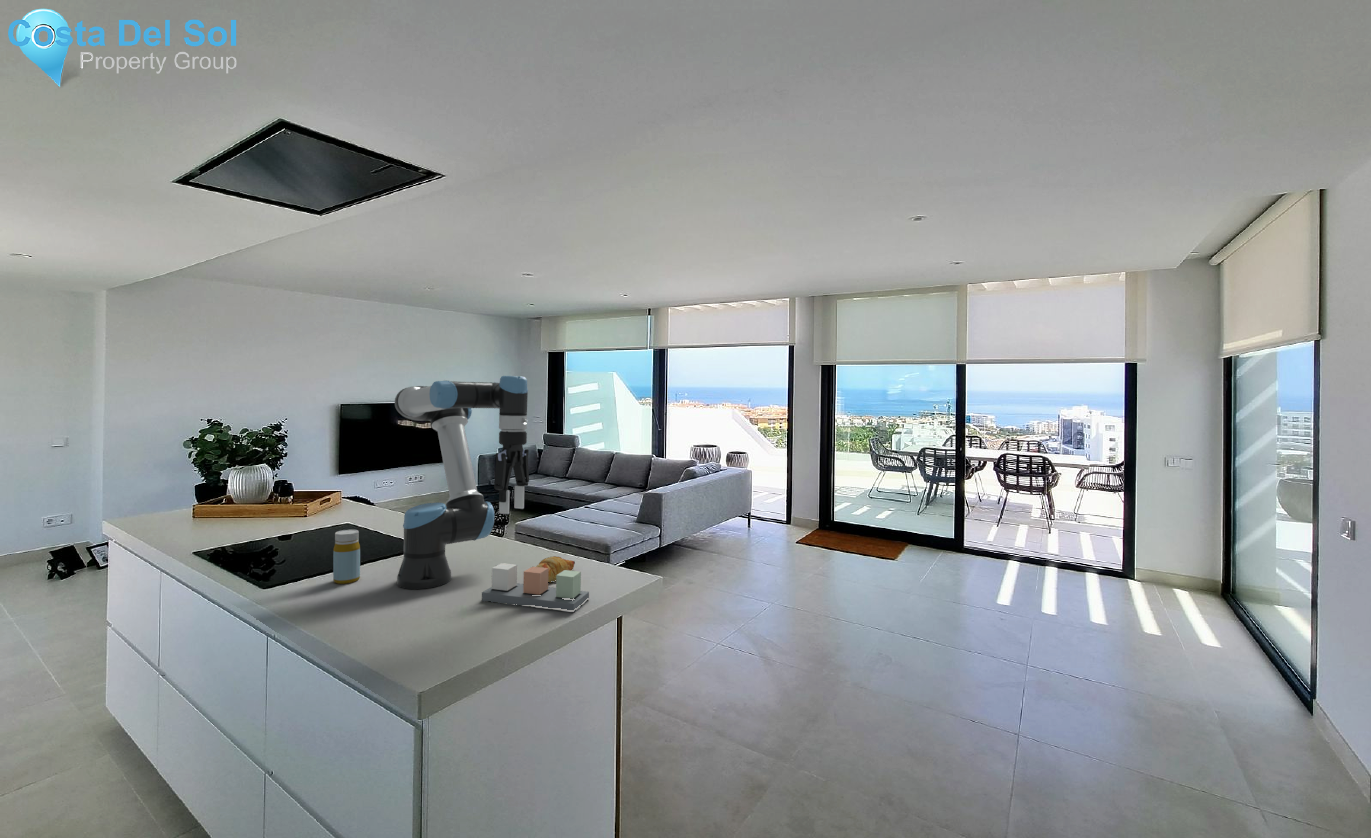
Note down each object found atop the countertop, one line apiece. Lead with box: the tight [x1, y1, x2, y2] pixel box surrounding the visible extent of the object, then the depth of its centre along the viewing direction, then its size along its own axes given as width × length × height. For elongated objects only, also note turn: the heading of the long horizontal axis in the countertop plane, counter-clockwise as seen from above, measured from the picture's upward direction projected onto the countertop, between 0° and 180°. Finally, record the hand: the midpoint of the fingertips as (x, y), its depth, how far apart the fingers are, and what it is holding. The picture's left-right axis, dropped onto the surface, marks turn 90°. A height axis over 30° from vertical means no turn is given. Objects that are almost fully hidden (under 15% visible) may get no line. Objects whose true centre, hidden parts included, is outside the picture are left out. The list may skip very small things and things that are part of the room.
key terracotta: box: [522, 566, 549, 595], centre depth 162 cm, size 5×5×6 cm
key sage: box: [555, 570, 582, 599], centre depth 159 cm, size 5×5×6 cm
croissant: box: [535, 556, 576, 583], centre depth 182 cm, size 21×10×8 cm, turn 151°
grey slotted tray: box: [481, 582, 590, 610], centre depth 162 cm, size 28×10×2 cm, turn 76°
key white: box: [491, 562, 518, 591], centre depth 164 cm, size 5×5×6 cm
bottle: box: [332, 529, 361, 585], centre depth 174 cm, size 7×7×15 cm
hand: (511, 510), depth 163 cm, fingers open, 7 cm apart
